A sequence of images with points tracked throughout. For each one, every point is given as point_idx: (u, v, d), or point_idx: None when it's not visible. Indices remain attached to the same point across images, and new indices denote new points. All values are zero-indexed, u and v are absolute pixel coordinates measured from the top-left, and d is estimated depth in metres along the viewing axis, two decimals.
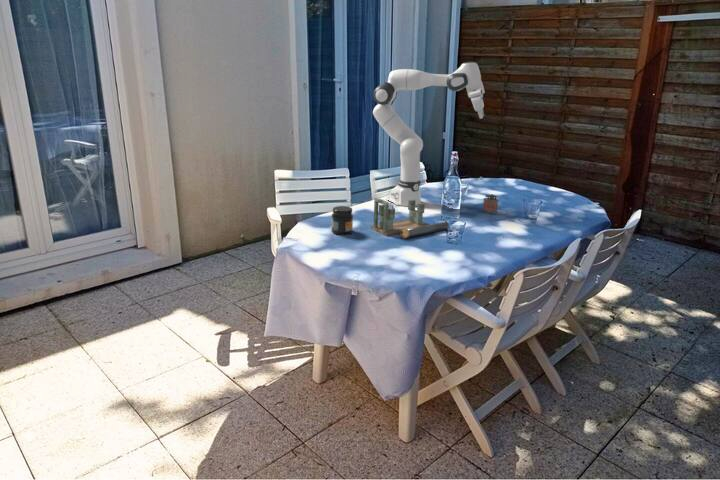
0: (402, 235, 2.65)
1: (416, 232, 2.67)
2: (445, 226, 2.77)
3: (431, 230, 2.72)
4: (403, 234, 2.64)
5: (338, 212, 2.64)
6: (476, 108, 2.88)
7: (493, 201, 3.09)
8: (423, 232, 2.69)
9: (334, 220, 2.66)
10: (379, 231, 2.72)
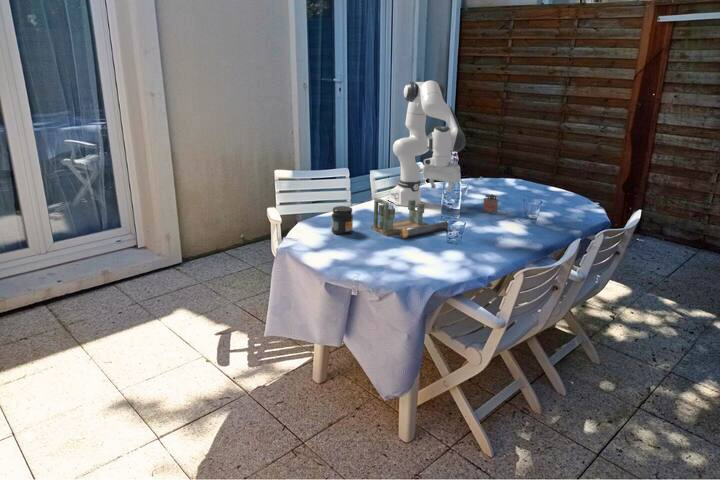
0: (402, 235, 2.65)
1: (416, 231, 2.67)
2: (445, 225, 2.77)
3: (431, 229, 2.72)
4: (403, 234, 2.64)
5: (338, 212, 2.64)
6: None
7: (493, 201, 3.09)
8: (423, 231, 2.69)
9: (334, 220, 2.66)
10: (379, 231, 2.72)
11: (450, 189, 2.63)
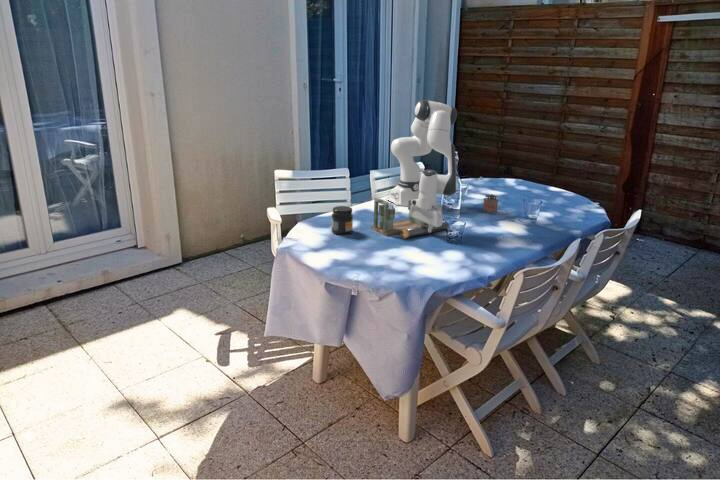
0: (402, 235, 2.65)
1: (417, 233, 2.67)
2: (445, 226, 2.77)
3: (431, 230, 2.72)
4: (403, 234, 2.64)
5: (338, 212, 2.64)
6: None
7: (493, 201, 3.09)
8: (423, 232, 2.69)
9: (334, 220, 2.66)
10: (379, 231, 2.72)
11: (429, 230, 2.69)
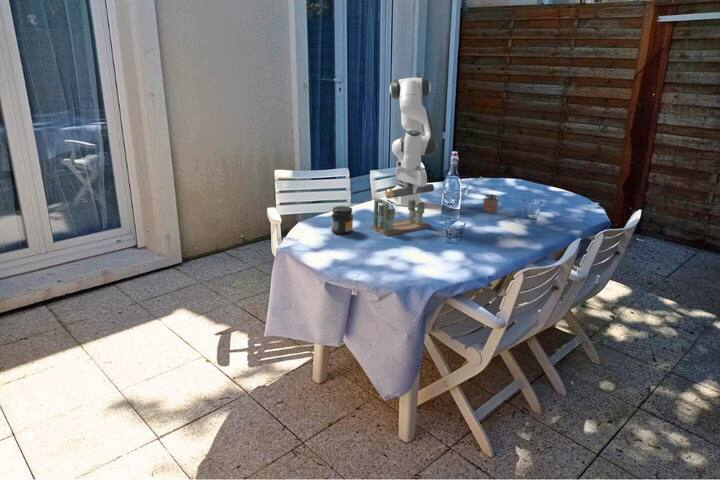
0: (387, 195, 2.69)
1: (401, 193, 2.71)
2: (430, 188, 2.81)
3: (416, 191, 2.76)
4: (388, 194, 2.68)
5: (338, 212, 2.64)
6: None
7: (493, 201, 3.09)
8: (408, 193, 2.74)
9: (334, 220, 2.66)
10: (379, 231, 2.72)
11: (414, 191, 2.74)
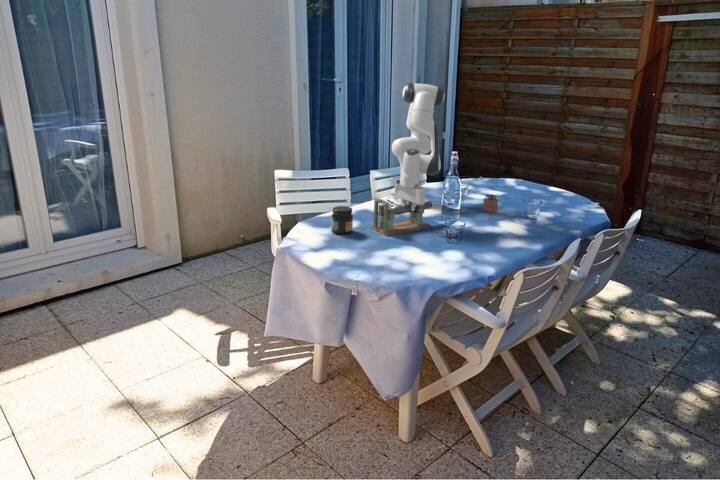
0: None
1: (400, 211, 2.74)
2: (429, 205, 2.84)
3: (415, 209, 2.79)
4: None
5: (338, 212, 2.64)
6: None
7: (493, 201, 3.09)
8: (407, 210, 2.76)
9: (334, 220, 2.66)
10: (379, 231, 2.72)
11: (413, 209, 2.76)
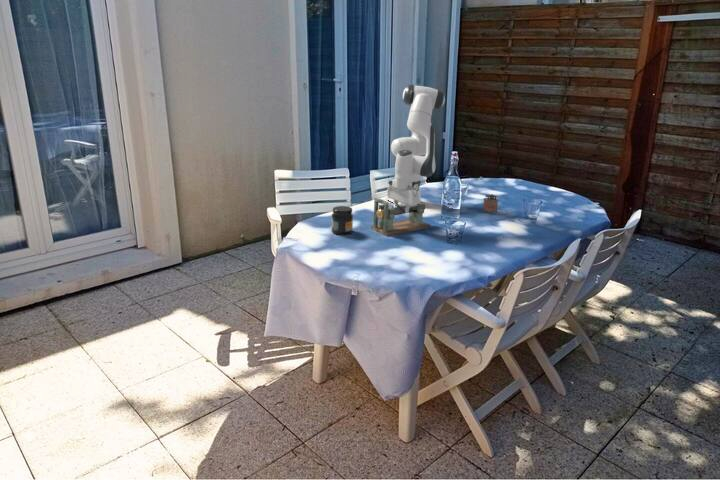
0: (378, 215, 2.70)
1: None
2: None
3: None
4: (379, 214, 2.69)
5: (338, 212, 2.64)
6: None
7: (493, 201, 3.09)
8: (399, 212, 2.74)
9: (334, 220, 2.66)
10: (379, 231, 2.72)
11: (407, 211, 2.73)
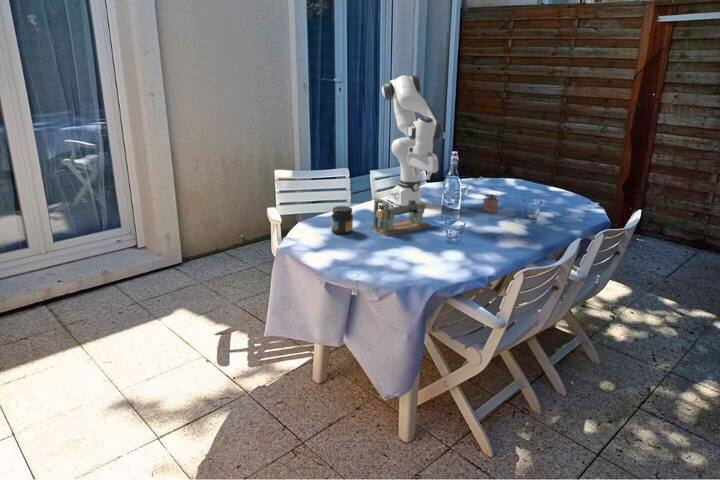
0: (378, 215, 2.70)
1: None
2: None
3: (407, 210, 2.77)
4: (379, 214, 2.69)
5: (338, 212, 2.64)
6: None
7: (493, 201, 3.09)
8: (399, 212, 2.74)
9: (334, 220, 2.66)
10: (379, 231, 2.72)
11: (428, 178, 2.76)
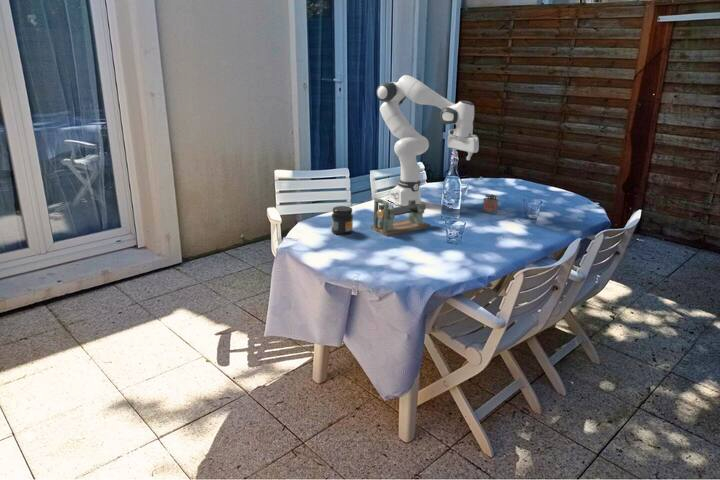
0: (379, 215, 2.69)
1: None
2: None
3: (407, 211, 2.77)
4: (379, 215, 2.69)
5: (338, 212, 2.64)
6: None
7: (493, 201, 3.09)
8: (399, 213, 2.74)
9: (334, 220, 2.66)
10: (379, 231, 2.72)
11: (469, 158, 2.92)
